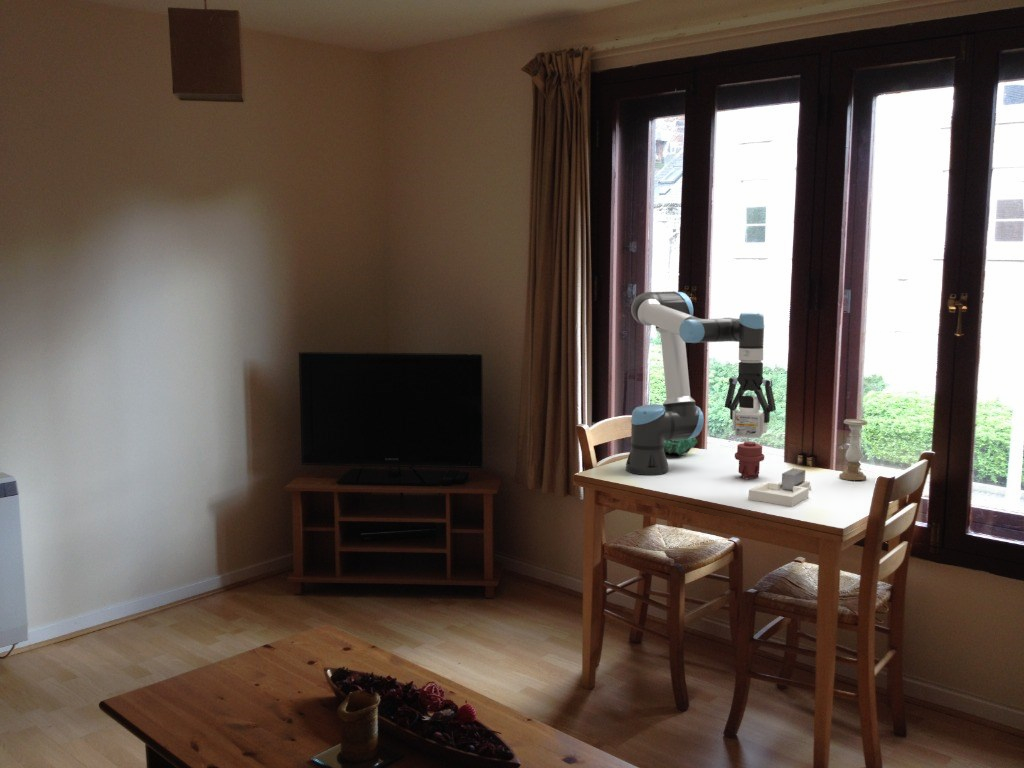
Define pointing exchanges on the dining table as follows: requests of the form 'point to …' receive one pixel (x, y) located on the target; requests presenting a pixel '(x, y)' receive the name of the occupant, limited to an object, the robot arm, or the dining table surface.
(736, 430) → the container
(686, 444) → the mineral
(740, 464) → the mechanical component
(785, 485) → the grey rectangular block
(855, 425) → the candle holder
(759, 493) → the dock socket
